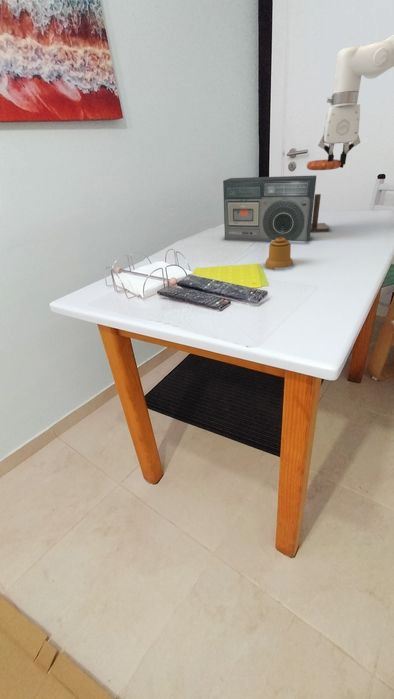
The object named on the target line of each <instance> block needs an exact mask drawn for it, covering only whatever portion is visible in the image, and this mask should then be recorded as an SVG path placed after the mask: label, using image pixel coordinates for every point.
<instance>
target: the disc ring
mask: <svg viewBox="0 0 394 699" xmlns="http://www.w3.org/2000/svg"><path fill="white" fill-rule="evenodd" d="M340 166H341V161H340V159H333V161H329V162H328V159H316V160H311V161H308V162H307V163H306V169H307V170H309V171H329V170H330V171H331V170H336V169H339V168H341V167H340Z"/></svg>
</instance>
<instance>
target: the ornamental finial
mask: <svg viewBox="0 0 394 699" xmlns="http://www.w3.org/2000/svg"><path fill="white" fill-rule="evenodd" d="M291 250H292V243H290V241H287V240H286V239H285V238H276V239H275V240H271V242H269V248H268V257H267V258H266V260H265V266H266V268H267V269H269V270H276V269H279V268H281V269H282V268H287V267H291V266H292V265H293V264H294V262H293V258H292V257H291ZM275 268H276V269H275Z"/></svg>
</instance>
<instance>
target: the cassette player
mask: <svg viewBox="0 0 394 699" xmlns="http://www.w3.org/2000/svg"><path fill="white" fill-rule="evenodd" d="M222 185H223V186H222V188H223V189H222V190H223V222H224V223H223V225H224V241H239V242H240V241H242V242H260V243H261V242H262V243H263V242H264V243H272V241H274V240H275V239H276V238H285V239H286V240H287V241H289V242H308V240H309V239H310V237H311V233H312V232H311V224H312V218H313V209H314V199H315V194H316V185H317V175H289V176H283V175H282V176H261V177H260V176H258V177H257V176H256V177H255V176H254V177H252V176H251V177H230V178H227V179H224V180H222Z"/></svg>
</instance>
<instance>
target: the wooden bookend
mask: <svg viewBox="0 0 394 699" xmlns="http://www.w3.org/2000/svg"><path fill="white" fill-rule="evenodd" d="M321 196H322V195H321V193H315V195H314V205H313V214H312V224H311V233H324V232H325V233H326V232H330V228H329V227H328V225H327V223H325V222H319V214H320V205H321Z"/></svg>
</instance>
